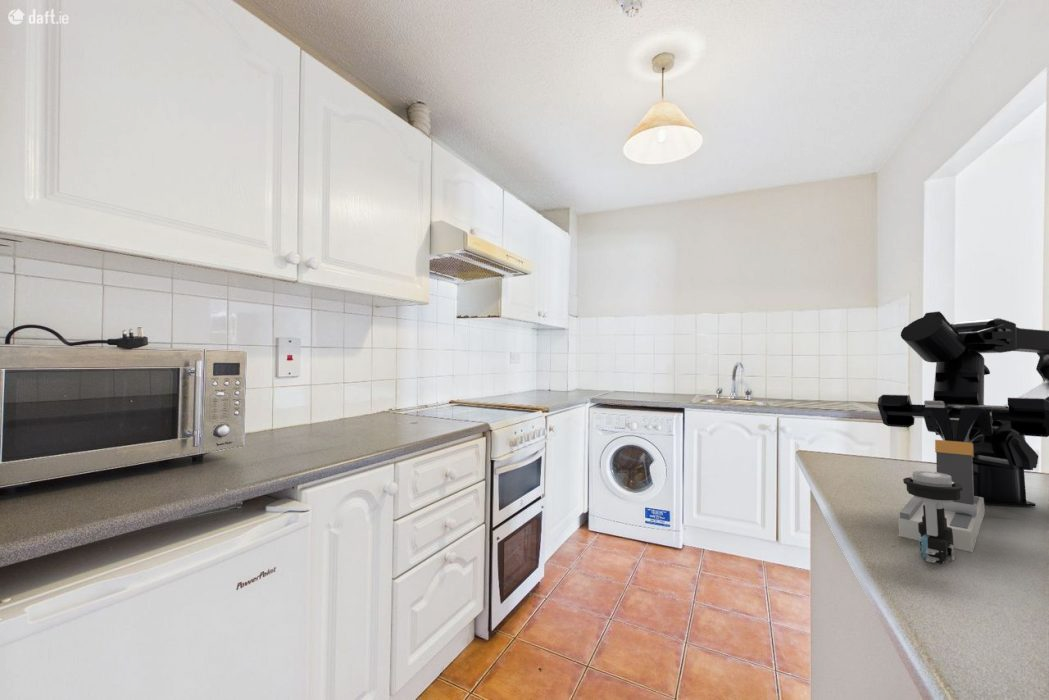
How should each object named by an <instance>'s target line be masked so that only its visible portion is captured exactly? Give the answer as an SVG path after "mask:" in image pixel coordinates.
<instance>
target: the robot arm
mask: <svg viewBox="0 0 1049 700" xmlns="http://www.w3.org/2000/svg"><path fill="white" fill-rule="evenodd" d="M900 337H901V339H902V340H903V341H904V342H905V343H906V344H907V345H908V347H910V348H911V349H912V350H913V351H914V352H915V353H916V354H917V355H918V356H919V357H920V359H922V360H924V362H927V363H932V364H933V363H935V373H934V383H933V384H934V386H933V388H934V389H933V394H932V395H933V396H932V397H933V398H932V400H923V401H924V402H923V404H913V402H912V400H911V396H910V394H881V395H880V396H879V397H878V400H877V408H878V411H879V414H880V417H881V420H882V423H883V425H885V426H887V427H894V428H910V427H913V426H914V425H915V421H916V420H915V418H916V419H924V422H925V423H924V424H925V426H926V430H927V431H928V432H930V433H935V435H936V436H940V438H941V440H944V441H957V442H969V443H972V444H973V453H974V457H973V485H974V496H977V497H983V498H984V505H988V506H989V505H990V506H1013V507H1036V503H1035V502H1033V501H1029V500H1027V489H1026V482H1025V481H1026V477H1025V471H1033V470H1034V469H1037V467H1038V462H1039V461H1038V460H1039V455H1038V453H1037V452H1036V451H1035V450H1034V449H1033V448H1032V447H1031V446H1030V445H1029V443H1028V442H1027V441H1026V436H1027V437H1040V438H1041V437H1042V438H1048V437H1049V330H1045V329H1034V328H1023V327H1022V328H1021V327H1018V326H1017V324H1016V323H1015V322H1012V321H1009V320H1006V319H1003V318H1001V317H1000V318H999V317H997V318H989V319H988V318H987V319H977V320H967V321H966V320H965V321H956V322H952V323H950V322H949V321H948V320H947V319H946V317H945V315H944V314H943V313H942V312H941V311H930V312H926V313H925V314H924V316H923V317H921V318H918V319H915V320H914V321H912V322H911V323H909V324H907V325H906V326H904V327H903V328H902V330H901V332H900ZM1009 352H1021V353H1033V354H1034V353H1036V354H1037V356H1038V357H1039V359H1038V361H1037V365H1036V367H1035V369H1036V372H1037V373H1038V374H1039V376H1041V378H1042V381H1043V382H1042V383H1041V384H1038V385H1036V386H1035V387H1033V388H1031V389H1030V390H1029V391H1027V392H1025V393H1023V394H1022V395H1020V396H1019V397H1007V404H1004V405H990V404H989V405H987V404H986V405H985V376H986V375H990V374H991V371H990V369H989V368H988V366H987V365H986V364H985V358H984V356H983V355H982V354H997V353H998V354H1001V353H1002V354H1003V353H1009Z"/></svg>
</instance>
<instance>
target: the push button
mask: <svg viewBox="0 0 1049 700" xmlns="http://www.w3.org/2000/svg"><path fill="white" fill-rule="evenodd" d="M911 473H912V476H910V477H905V478H903V479H902V481H903V484H904V485H906V486H905V487H906V492H907V493H908V494H909V495H912V496H914V497H915V498H918V499H921V500H923V501H924V505H923V514H924V515H923V516H922V522H919V523H918V530H919V533H920V535H921V539H920V540H918V550H919V551H918V552H919V553H921V552H922V558H923V559H924V560H925V561H926V562H930V563H933V564H935V563H939V564H944V563H945V561H946V560H947V558H949V557H948V556H951V560H952V561H954V559H955V548H954V545H953V533H952V528H951V527H947V518H945V512H944V508H943V503H951V502H953V500H959V499H960V491H962V490H963V486H962V485H960V484H958V483H955V482H953V481H952V479H951V476H950V475H947V474H943V473H937V471H928V470H927V471H925V470H915V471H912V472H911Z"/></svg>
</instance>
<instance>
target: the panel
mask: <svg viewBox="0 0 1049 700" xmlns="http://www.w3.org/2000/svg"><path fill="white" fill-rule="evenodd" d="M974 504H976V508H977V515H976V516H974V515H968V514H962V513H956V512H950V511H945V510H944V512H945V518H947V527H951V528H952V533H953V545H954V549H957V550H961V551H966V552H969V553H973V551H974V550H975V549H974V548H975V547H976V541H977V540H978V537H979V532H980V530H981V527H982V524H983V521H984V517H985V515H986V512H985V511H986V510H985V503H984V498H983V497H977V496H974ZM923 505H924V501H923V500H921V499H918V498H915V497H914V495H912V497H911V498H910V500H909V501H907V503H906V504H905V505H904V507H902V508H901V510H900V511H899V516H898V517H897V520H898V523H897V524H898V537H901V538H906V539H910V540H915V541H919V540H920V539H921V535H920V533H919V530H918V523H919V522H922V516H923V515H924V514H923Z"/></svg>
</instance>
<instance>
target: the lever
mask: <svg viewBox="0 0 1049 700" xmlns="http://www.w3.org/2000/svg"><path fill="white" fill-rule="evenodd" d="M934 446H935V447H934V450H935V451H934V452H935V454H936V455H935V456H936V460H935V461H936V462H935V463H936V472H937V473H943V474H947V475H950V476H951V479H952V481H953V482H955V483H958V484H960V485H962V486H963V490H962V491H960V499H959V500H953V502H951V503H943V508H944V510H945V511H950V512H956V513H962V514H968V515H974V516H976V515H977V508H976V504H974V485H973V457H974V453H973V444H972V443H969V442H957V441H944V440H943V439H941V440H940V439H935V440H934Z"/></svg>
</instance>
